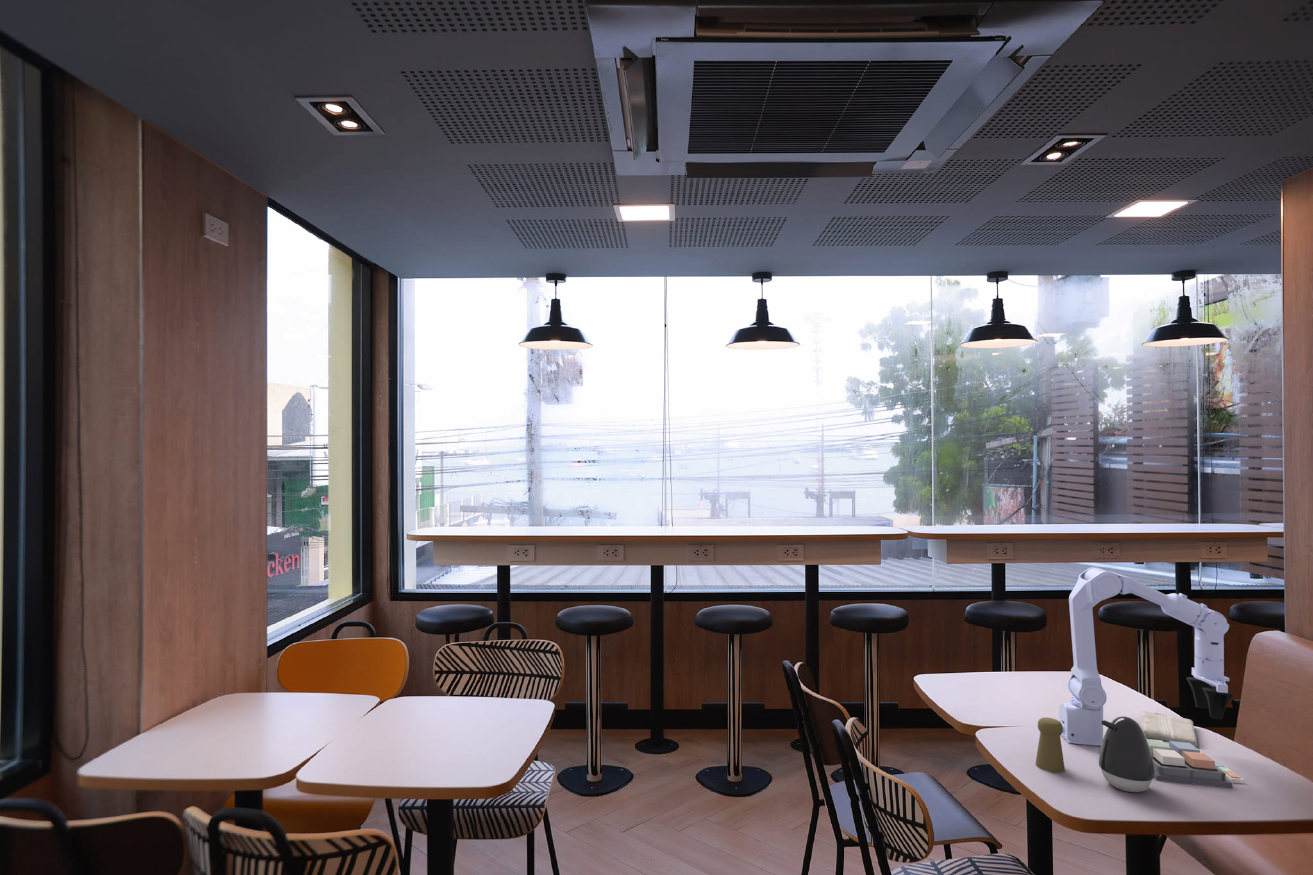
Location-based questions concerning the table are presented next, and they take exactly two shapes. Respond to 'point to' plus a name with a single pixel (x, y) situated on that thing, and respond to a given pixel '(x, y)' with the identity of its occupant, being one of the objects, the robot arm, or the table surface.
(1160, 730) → the washcloth
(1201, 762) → the terracotta key
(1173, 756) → the ivory key
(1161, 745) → the sage key
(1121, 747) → the pump dispenser
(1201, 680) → the robot arm
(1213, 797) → the table surface
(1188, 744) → the slate key
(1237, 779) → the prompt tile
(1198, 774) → the keypad base
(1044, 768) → the cork
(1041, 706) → the table surface
